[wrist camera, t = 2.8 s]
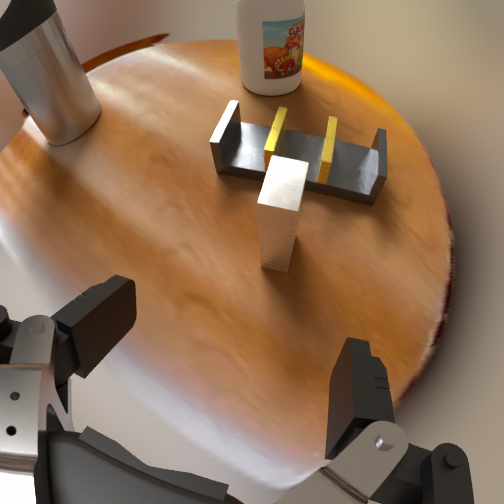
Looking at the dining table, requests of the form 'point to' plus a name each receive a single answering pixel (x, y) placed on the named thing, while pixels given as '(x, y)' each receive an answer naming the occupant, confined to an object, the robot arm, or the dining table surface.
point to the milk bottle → (270, 44)
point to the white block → (280, 211)
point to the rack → (301, 155)
